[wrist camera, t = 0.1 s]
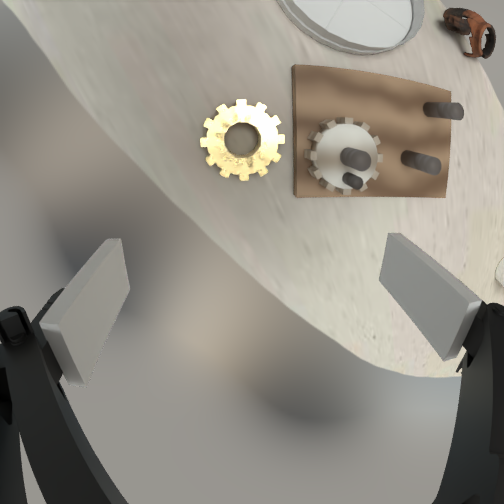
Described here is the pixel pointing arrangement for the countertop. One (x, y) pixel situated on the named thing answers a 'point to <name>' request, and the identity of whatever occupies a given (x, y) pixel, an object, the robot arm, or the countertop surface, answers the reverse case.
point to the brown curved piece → (471, 30)
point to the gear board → (384, 122)
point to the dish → (357, 22)
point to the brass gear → (253, 159)
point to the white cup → (500, 272)
